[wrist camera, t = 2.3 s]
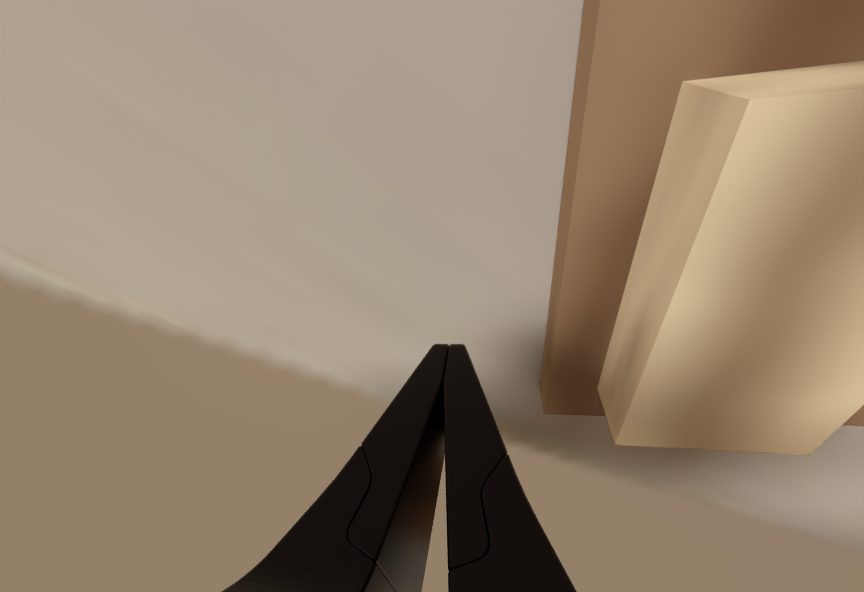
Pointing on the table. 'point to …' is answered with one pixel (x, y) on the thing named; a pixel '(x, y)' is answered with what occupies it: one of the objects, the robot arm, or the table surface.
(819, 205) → the maple plate
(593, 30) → the board
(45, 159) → the table surface
